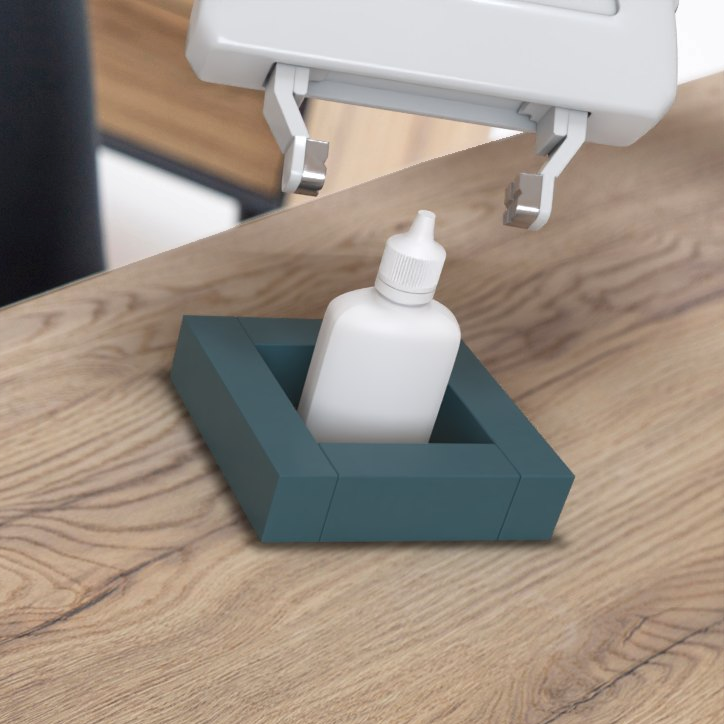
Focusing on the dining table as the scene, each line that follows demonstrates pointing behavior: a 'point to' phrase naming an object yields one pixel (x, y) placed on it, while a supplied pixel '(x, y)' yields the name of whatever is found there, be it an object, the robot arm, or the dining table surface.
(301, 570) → the dining table surface
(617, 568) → the dining table surface
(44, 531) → the dining table surface
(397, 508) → the frame
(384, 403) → the eye dropper bottle
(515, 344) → the dining table surface
